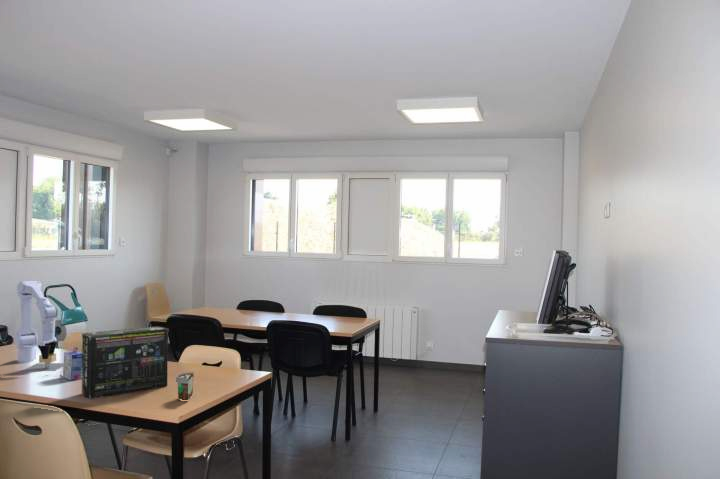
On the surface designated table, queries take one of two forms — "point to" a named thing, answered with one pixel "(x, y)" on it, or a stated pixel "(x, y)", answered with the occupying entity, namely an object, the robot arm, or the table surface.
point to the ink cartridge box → (72, 365)
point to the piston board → (44, 367)
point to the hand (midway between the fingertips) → (47, 357)
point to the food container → (185, 385)
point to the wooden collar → (50, 358)
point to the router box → (124, 361)
